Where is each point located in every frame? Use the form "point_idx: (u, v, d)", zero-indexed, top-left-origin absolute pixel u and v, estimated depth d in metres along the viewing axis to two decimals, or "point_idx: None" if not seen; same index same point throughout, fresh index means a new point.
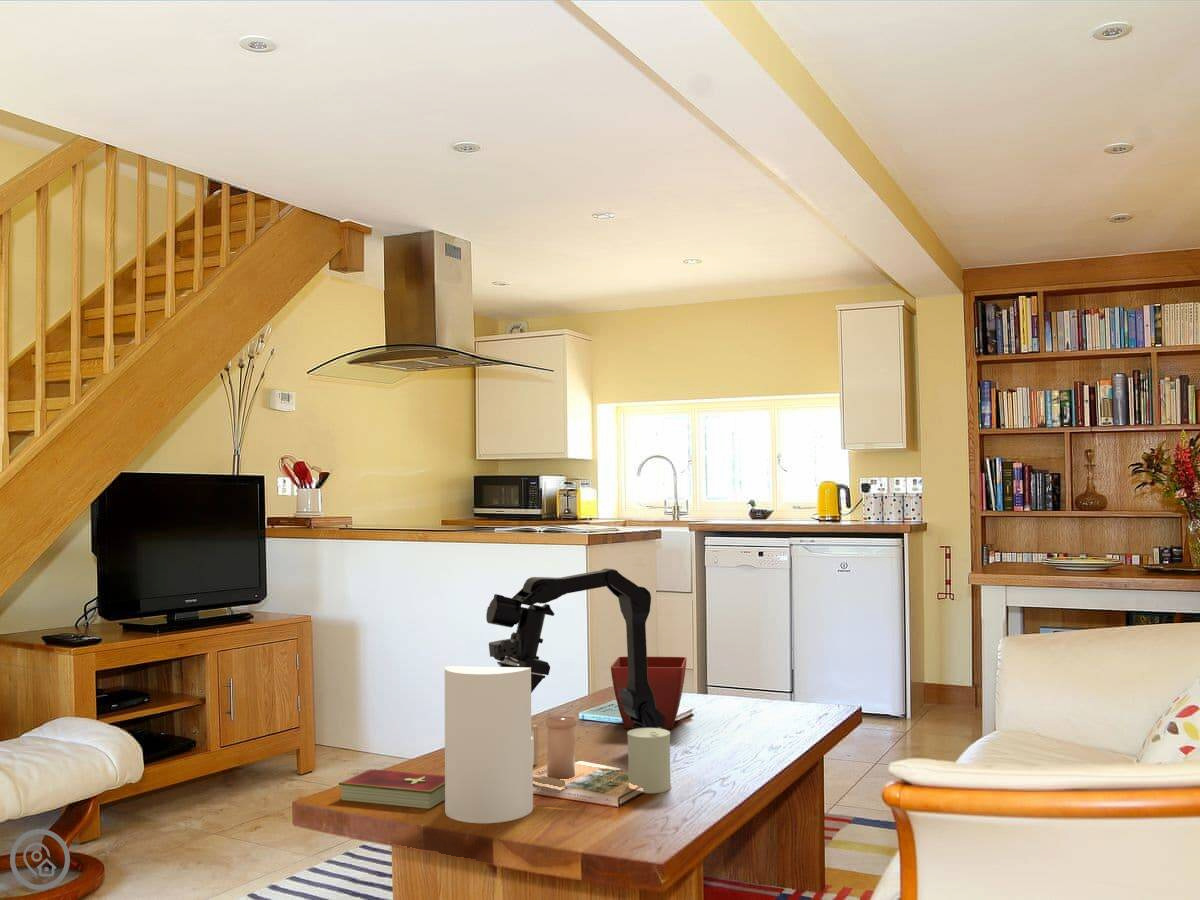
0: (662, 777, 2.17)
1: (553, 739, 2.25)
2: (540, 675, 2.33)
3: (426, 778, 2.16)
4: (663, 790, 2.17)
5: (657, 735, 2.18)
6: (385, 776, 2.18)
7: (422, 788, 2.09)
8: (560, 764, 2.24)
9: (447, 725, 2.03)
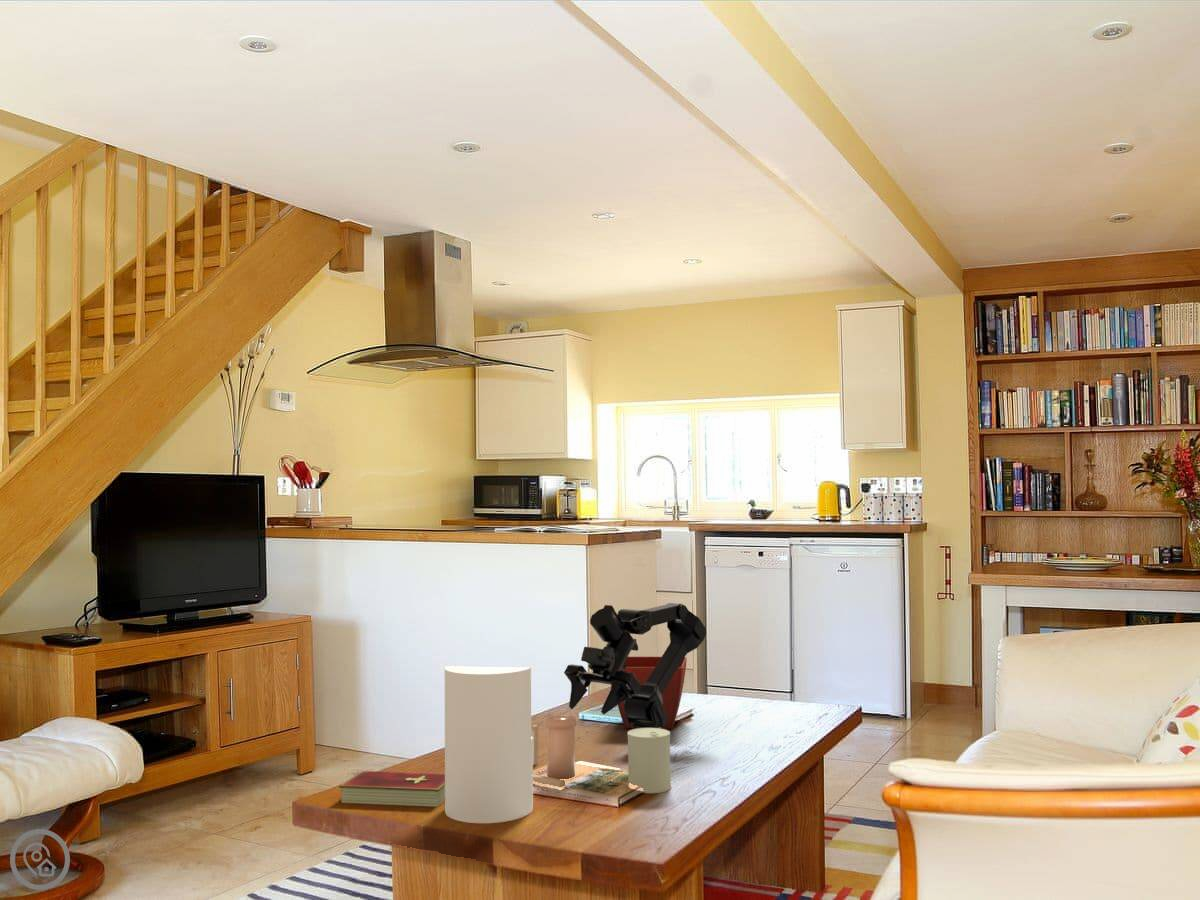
0: (662, 777, 2.17)
1: (553, 739, 2.25)
2: (630, 693, 2.34)
3: (426, 777, 2.17)
4: (663, 790, 2.17)
5: (657, 735, 2.18)
6: (383, 777, 2.17)
7: (428, 786, 2.10)
8: (560, 764, 2.24)
9: (447, 725, 2.03)
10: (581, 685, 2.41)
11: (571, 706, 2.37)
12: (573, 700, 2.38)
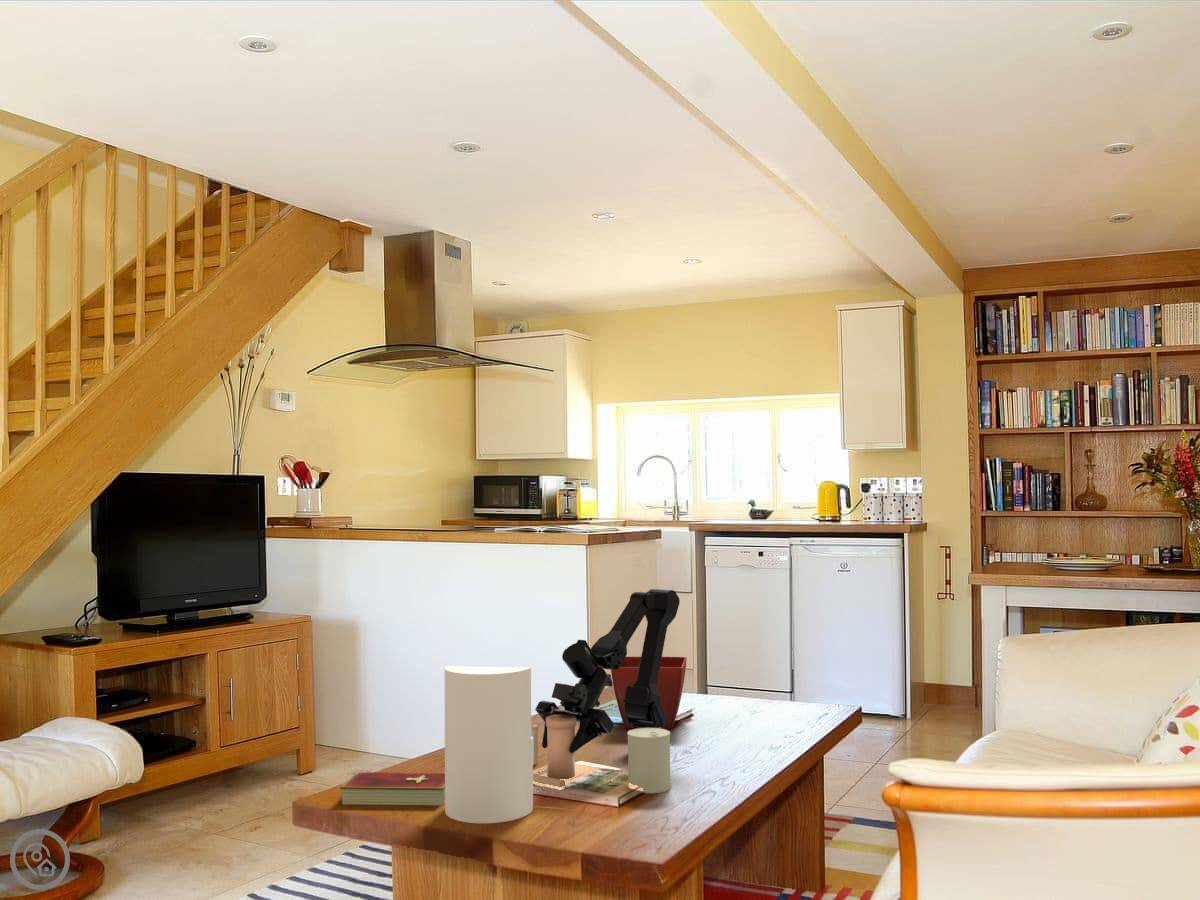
0: (662, 777, 2.17)
1: (553, 739, 2.25)
2: (599, 731, 2.26)
3: (425, 776, 2.17)
4: (663, 790, 2.17)
5: (657, 735, 2.18)
6: (382, 778, 2.17)
7: (432, 785, 2.11)
8: (561, 764, 2.24)
9: (447, 725, 2.03)
10: None
11: (544, 745, 2.28)
12: (546, 739, 2.29)
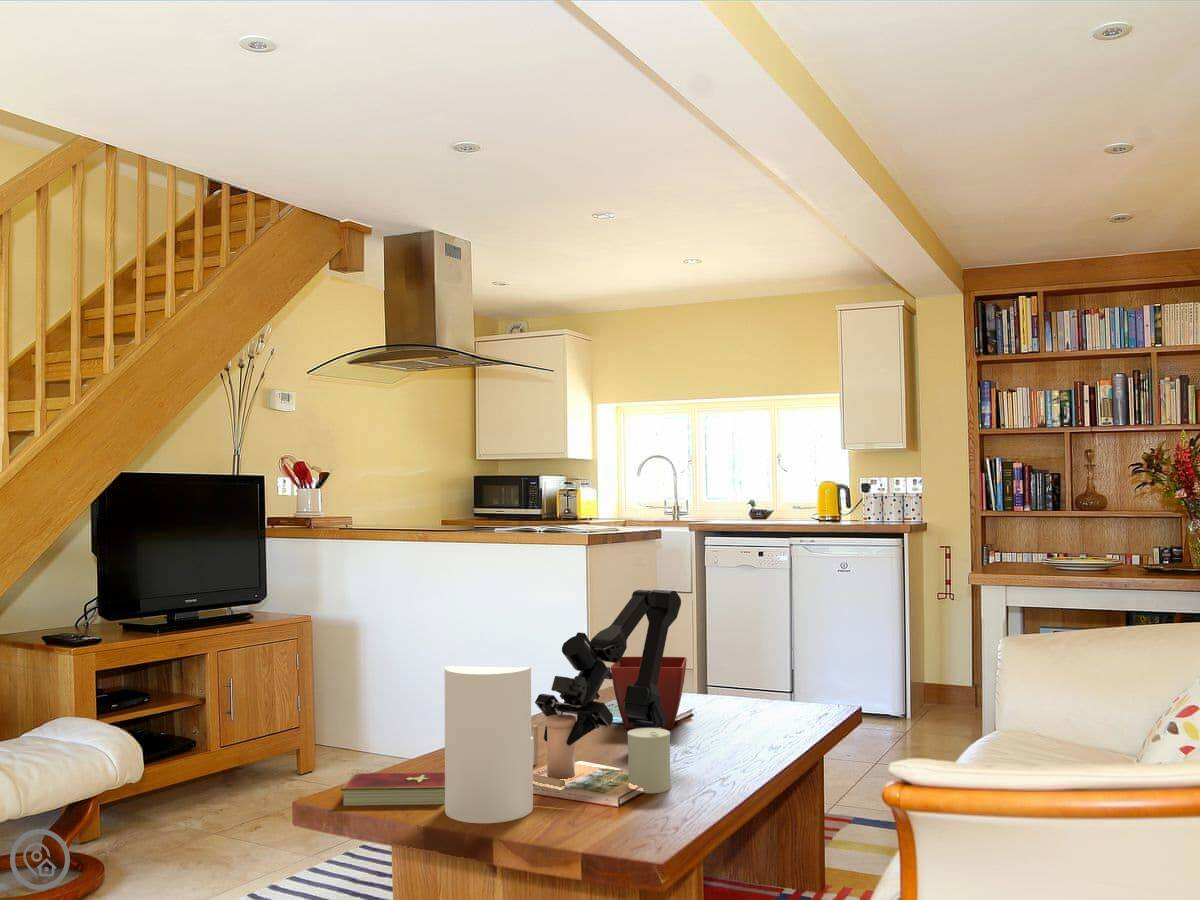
0: (662, 777, 2.17)
1: (553, 739, 2.25)
2: (597, 723, 2.27)
3: (425, 776, 2.18)
4: (663, 790, 2.17)
5: (657, 735, 2.18)
6: (381, 778, 2.16)
7: (434, 785, 2.11)
8: (560, 764, 2.24)
9: (447, 725, 2.03)
10: None
11: (546, 738, 2.28)
12: None
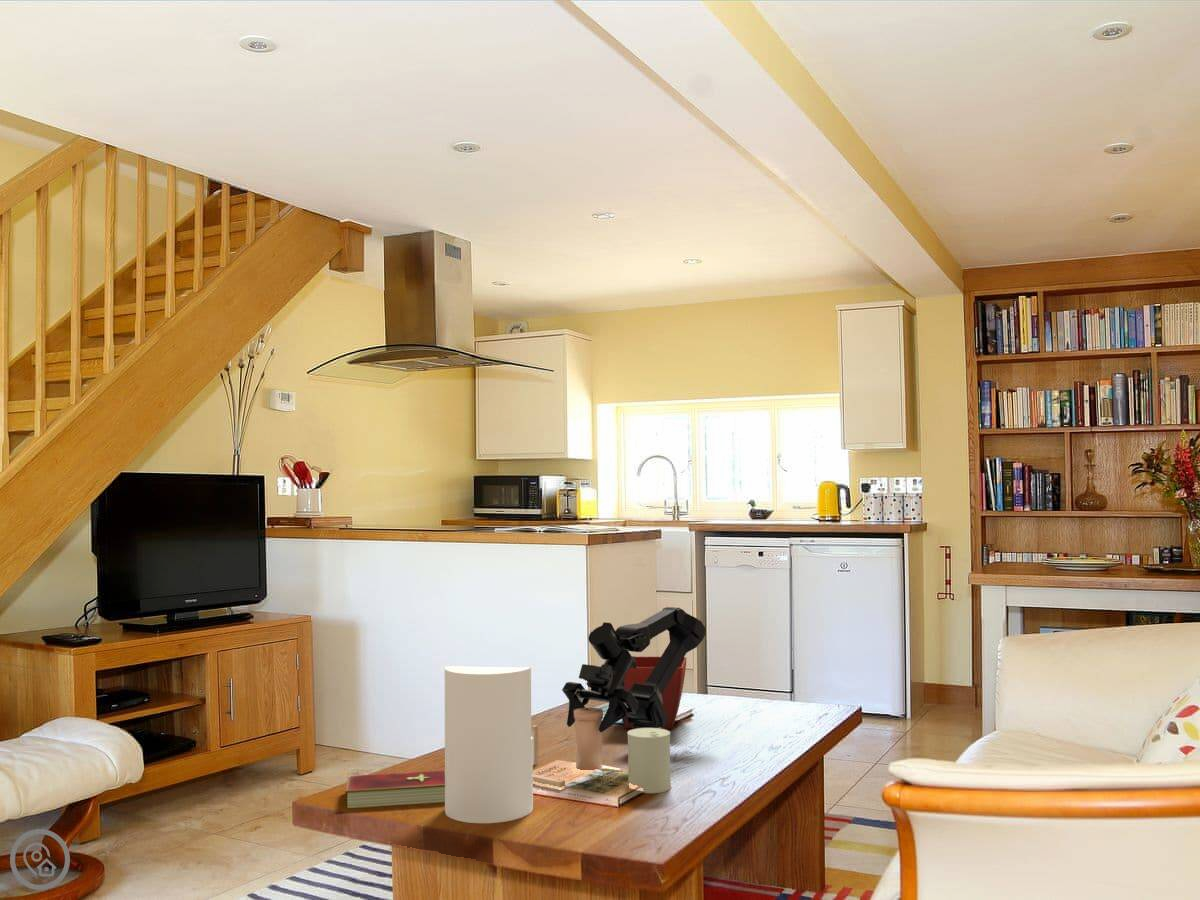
0: (662, 777, 2.17)
1: (581, 731, 2.32)
2: (628, 711, 2.34)
3: (423, 775, 2.19)
4: (663, 790, 2.17)
5: (657, 735, 2.18)
6: (379, 779, 2.16)
7: (438, 783, 2.12)
8: (588, 755, 2.31)
9: (447, 725, 2.03)
10: (579, 703, 2.40)
11: (569, 724, 2.36)
12: (571, 718, 2.37)
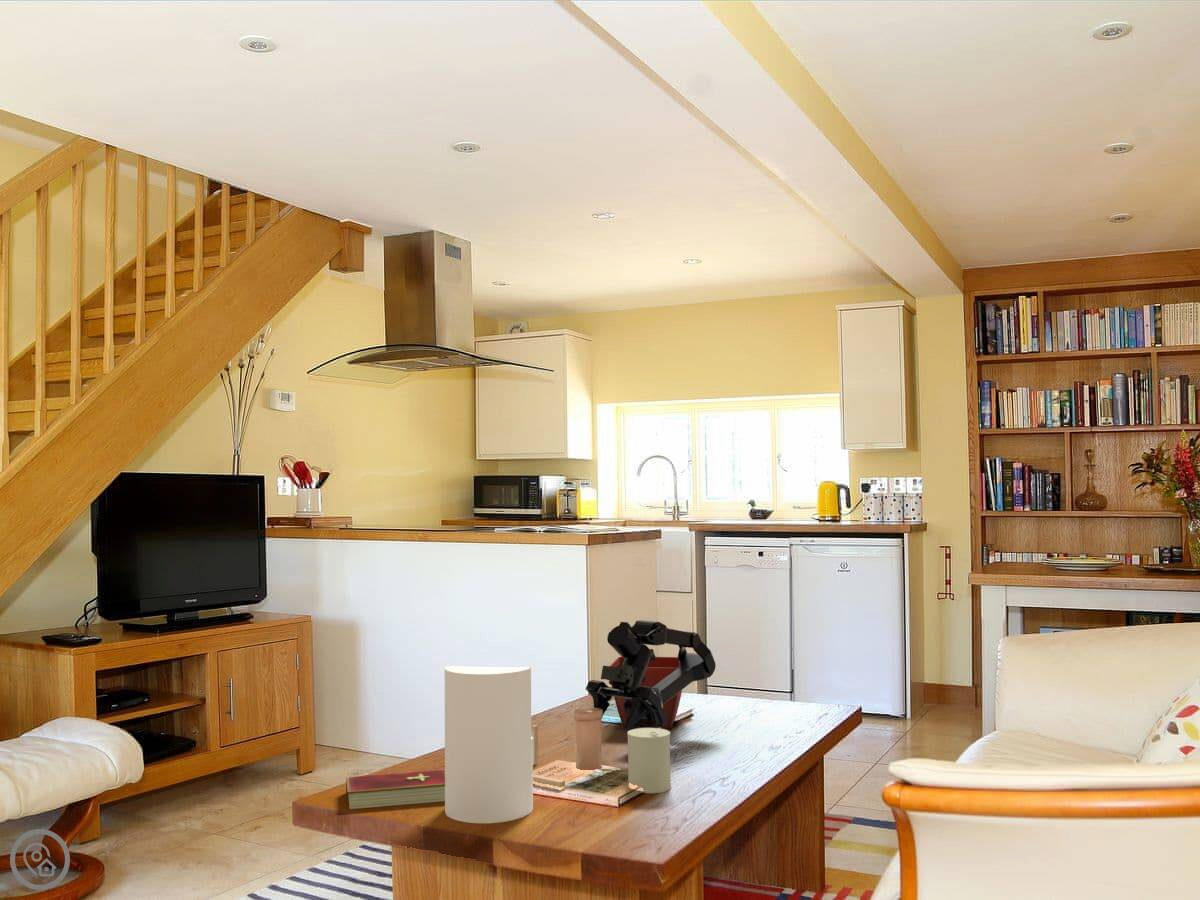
0: (662, 777, 2.17)
1: (581, 731, 2.32)
2: (651, 707, 2.41)
3: (423, 775, 2.19)
4: (663, 790, 2.17)
5: (657, 735, 2.18)
6: (379, 780, 2.15)
7: (440, 782, 2.13)
8: (588, 755, 2.32)
9: (447, 725, 2.03)
10: (603, 700, 2.48)
11: None
12: None
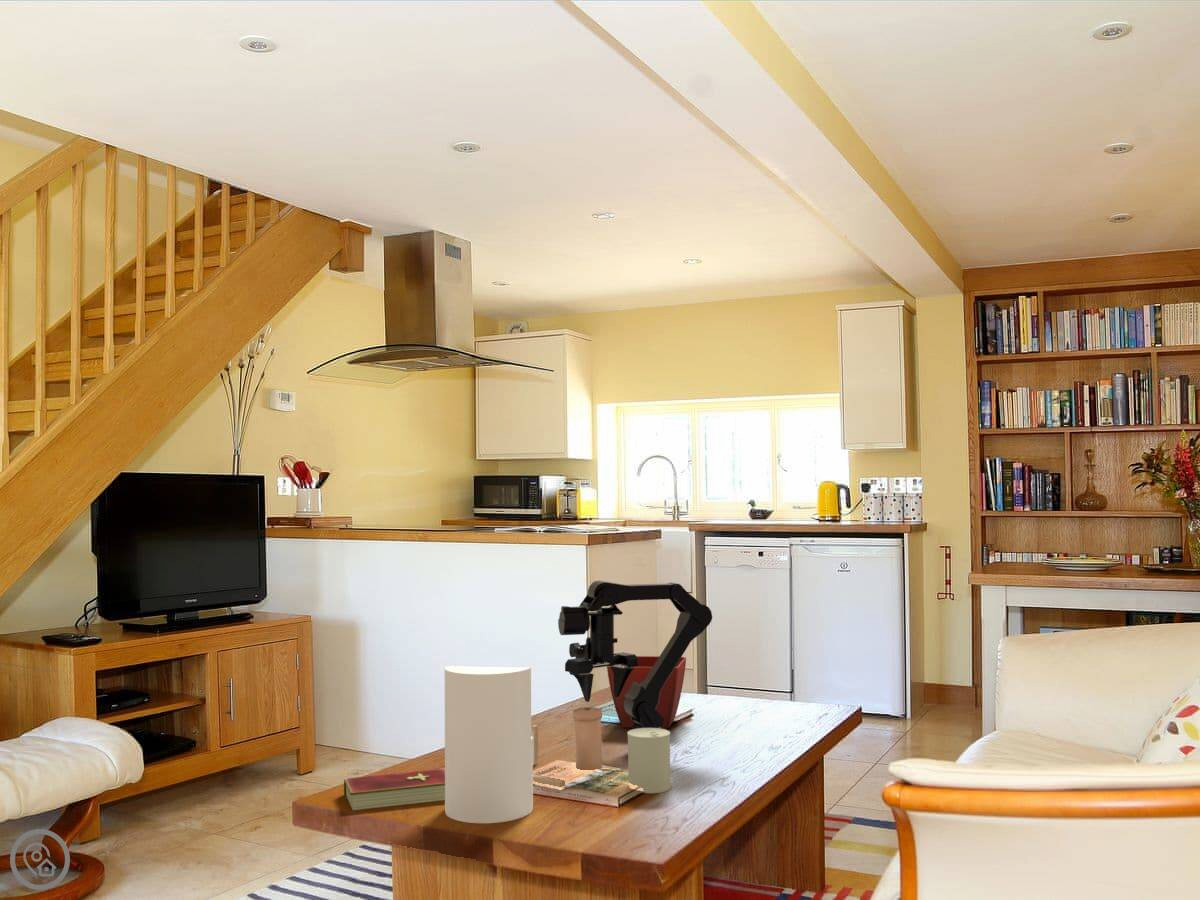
0: (662, 777, 2.17)
1: (580, 731, 2.32)
2: (580, 674, 2.44)
3: (421, 774, 2.19)
4: (663, 790, 2.17)
5: (657, 735, 2.18)
6: (379, 780, 2.15)
7: (441, 781, 2.14)
8: (588, 755, 2.32)
9: (447, 725, 2.03)
10: (618, 670, 2.53)
11: (615, 695, 2.52)
12: (614, 689, 2.53)
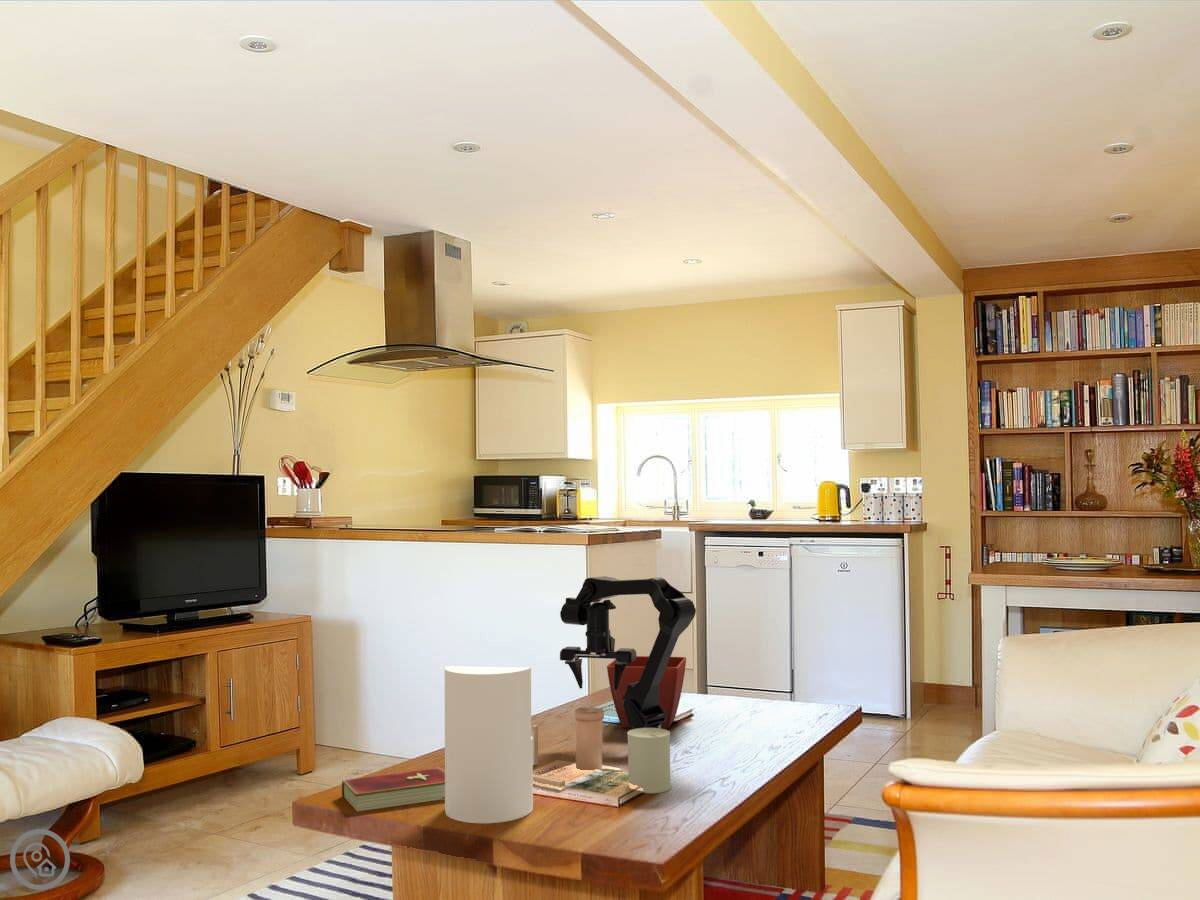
0: (662, 777, 2.17)
1: (582, 731, 2.32)
2: None
3: (420, 774, 2.19)
4: (663, 790, 2.17)
5: (657, 735, 2.18)
6: (379, 781, 2.14)
7: (442, 780, 2.15)
8: (588, 755, 2.31)
9: (447, 725, 2.03)
10: None
11: None
12: None
